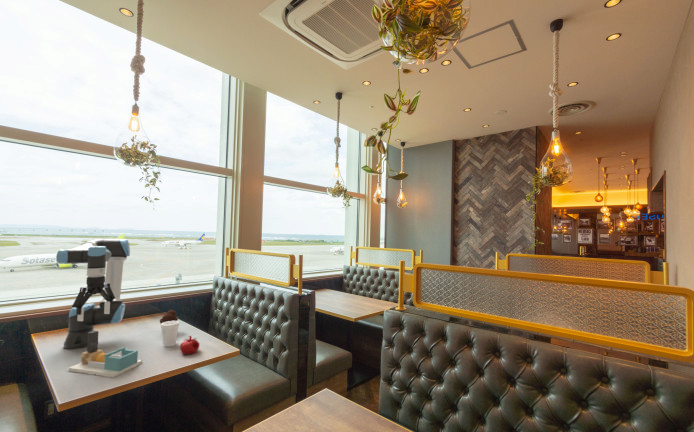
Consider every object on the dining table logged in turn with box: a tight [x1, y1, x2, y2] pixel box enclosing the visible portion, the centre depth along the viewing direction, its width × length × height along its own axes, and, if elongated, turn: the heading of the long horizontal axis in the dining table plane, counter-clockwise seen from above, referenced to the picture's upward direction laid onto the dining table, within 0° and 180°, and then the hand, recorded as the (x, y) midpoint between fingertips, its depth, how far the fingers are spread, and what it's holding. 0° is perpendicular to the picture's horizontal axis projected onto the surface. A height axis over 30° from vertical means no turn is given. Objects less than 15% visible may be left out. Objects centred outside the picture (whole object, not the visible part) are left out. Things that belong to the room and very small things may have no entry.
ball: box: [96, 352, 107, 363], centre depth 158 cm, size 5×5×5 cm
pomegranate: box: [179, 335, 200, 355], centre depth 177 cm, size 10×10×9 cm
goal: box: [104, 346, 139, 371], centre depth 155 cm, size 9×10×7 cm
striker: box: [80, 330, 104, 364], centre depth 159 cm, size 6×6×15 cm
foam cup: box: [160, 320, 180, 348], centre depth 188 cm, size 10×9×13 cm
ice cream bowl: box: [159, 309, 179, 325], centre depth 208 cm, size 11×11×15 cm
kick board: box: [68, 354, 143, 378], centre depth 157 cm, size 27×16×4 cm, turn 78°
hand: (94, 317), depth 160 cm, fingers open, 13 cm apart
